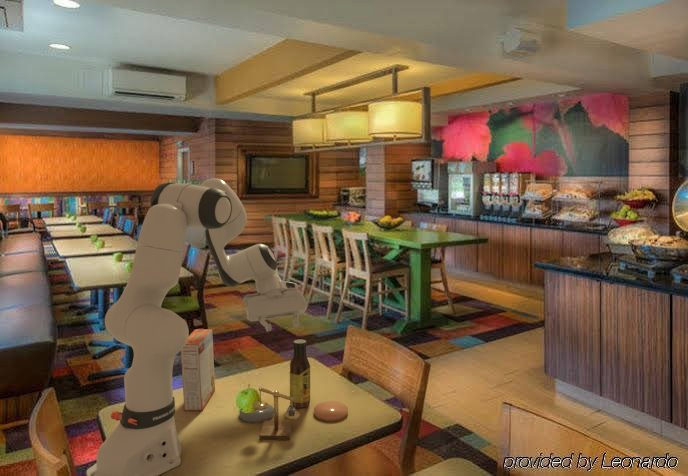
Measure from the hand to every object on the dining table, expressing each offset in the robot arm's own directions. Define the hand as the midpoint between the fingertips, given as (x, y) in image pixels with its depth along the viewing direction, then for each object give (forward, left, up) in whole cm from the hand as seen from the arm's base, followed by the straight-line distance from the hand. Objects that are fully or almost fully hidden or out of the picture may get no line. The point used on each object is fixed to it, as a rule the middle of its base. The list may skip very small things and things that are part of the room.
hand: (283, 327), depth 168 cm
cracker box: (-20, +17, -21) cm, 34 cm away
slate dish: (-18, -4, -21) cm, 28 cm away
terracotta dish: (-6, -22, -21) cm, 31 cm away
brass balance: (-23, -15, -21) cm, 34 cm away
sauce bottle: (-6, -11, -21) cm, 24 cm away
